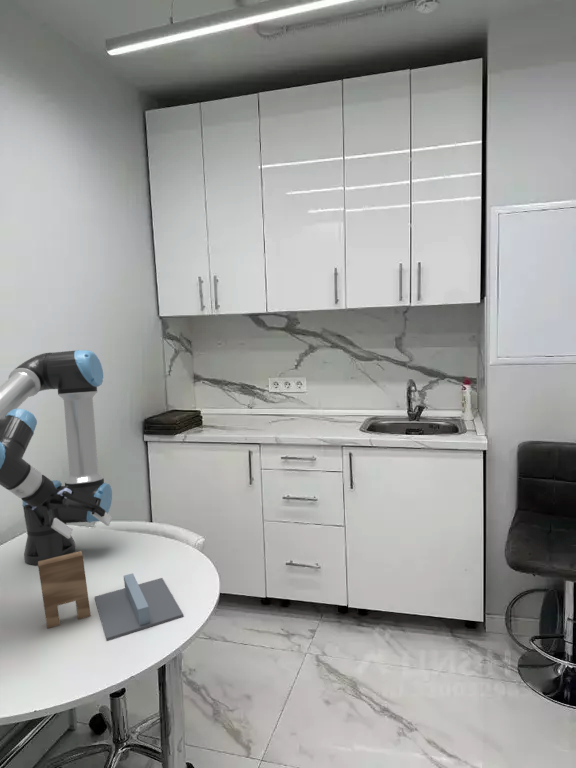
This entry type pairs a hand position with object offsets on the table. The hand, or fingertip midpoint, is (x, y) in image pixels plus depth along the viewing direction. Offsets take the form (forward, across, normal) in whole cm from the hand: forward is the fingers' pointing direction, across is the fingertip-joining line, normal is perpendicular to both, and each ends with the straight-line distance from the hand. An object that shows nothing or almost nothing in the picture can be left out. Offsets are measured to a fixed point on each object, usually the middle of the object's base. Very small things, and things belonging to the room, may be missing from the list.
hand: (89, 527), depth 148 cm
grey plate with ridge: (+12, +11, -19) cm, 25 cm away
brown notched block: (+4, -3, -23) cm, 23 cm away
